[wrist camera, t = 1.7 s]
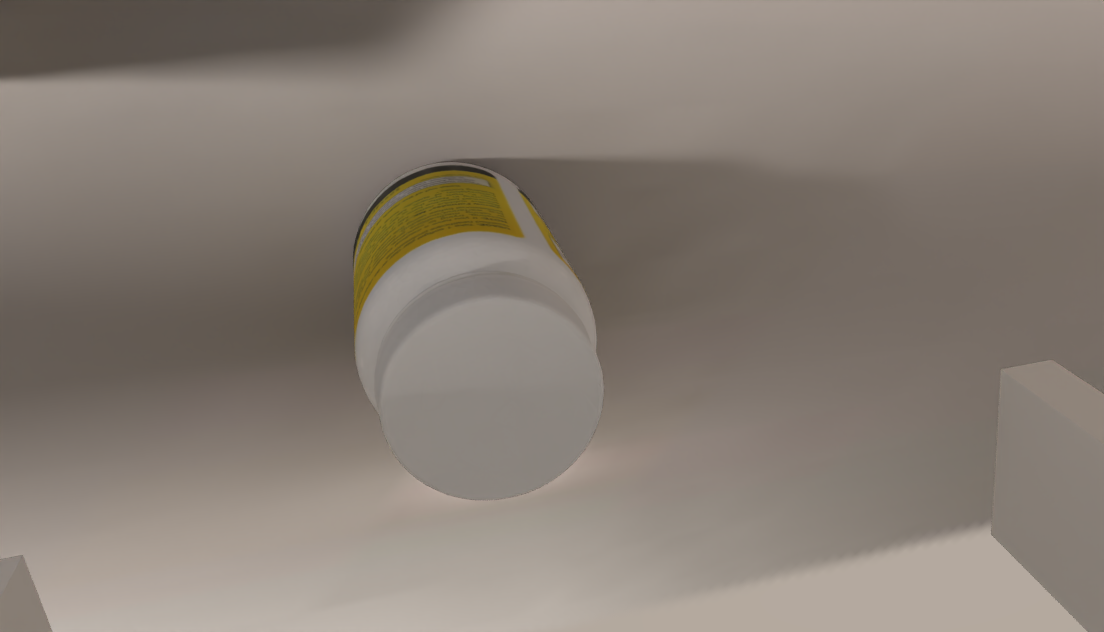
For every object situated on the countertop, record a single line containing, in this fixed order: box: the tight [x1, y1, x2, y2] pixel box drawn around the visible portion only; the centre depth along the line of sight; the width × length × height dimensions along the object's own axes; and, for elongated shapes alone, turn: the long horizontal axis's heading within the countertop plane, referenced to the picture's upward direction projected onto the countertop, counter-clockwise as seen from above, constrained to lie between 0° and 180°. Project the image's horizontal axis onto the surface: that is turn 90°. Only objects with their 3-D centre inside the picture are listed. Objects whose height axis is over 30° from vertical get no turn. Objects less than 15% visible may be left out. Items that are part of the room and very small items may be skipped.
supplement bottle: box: [353, 162, 604, 500], centre depth 22 cm, size 5×5×8 cm
